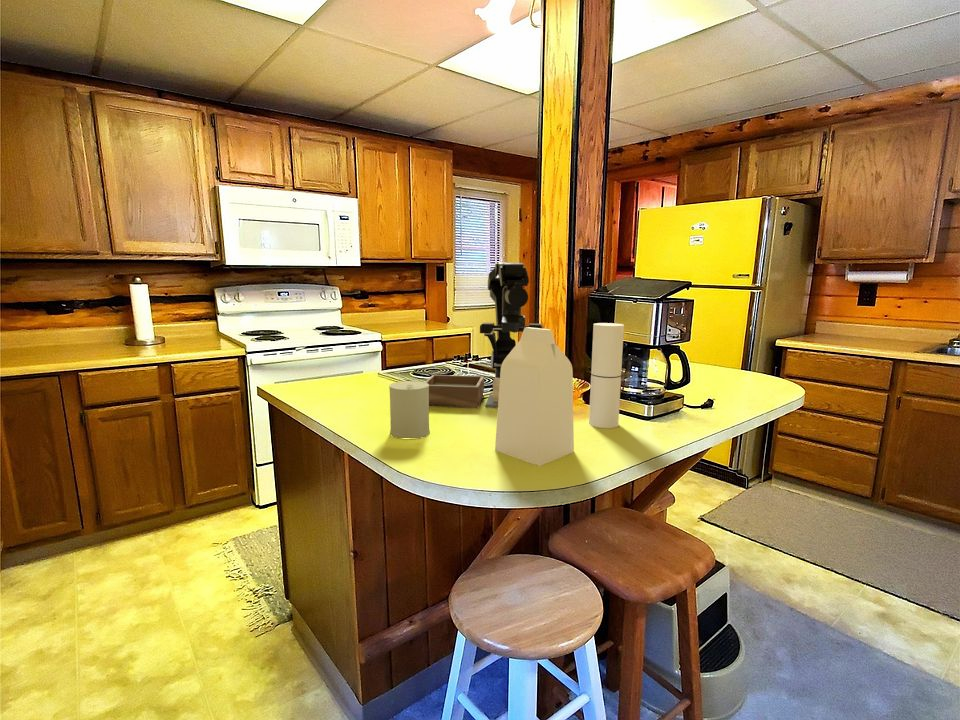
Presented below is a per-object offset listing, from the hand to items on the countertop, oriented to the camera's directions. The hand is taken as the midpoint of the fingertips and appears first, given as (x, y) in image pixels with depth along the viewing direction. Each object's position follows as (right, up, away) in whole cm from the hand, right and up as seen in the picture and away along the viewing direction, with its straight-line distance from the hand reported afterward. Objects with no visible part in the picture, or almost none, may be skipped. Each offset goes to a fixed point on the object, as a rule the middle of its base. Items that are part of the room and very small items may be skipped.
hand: (510, 356), depth 152 cm
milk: (+2, -20, -47) cm, 51 cm away
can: (-26, -18, -36) cm, 48 cm away
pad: (-3, -13, -7) cm, 15 cm away
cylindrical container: (+22, -17, -27) cm, 39 cm away
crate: (-17, -13, -5) cm, 22 cm away
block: (-3, -13, -7) cm, 15 cm away
